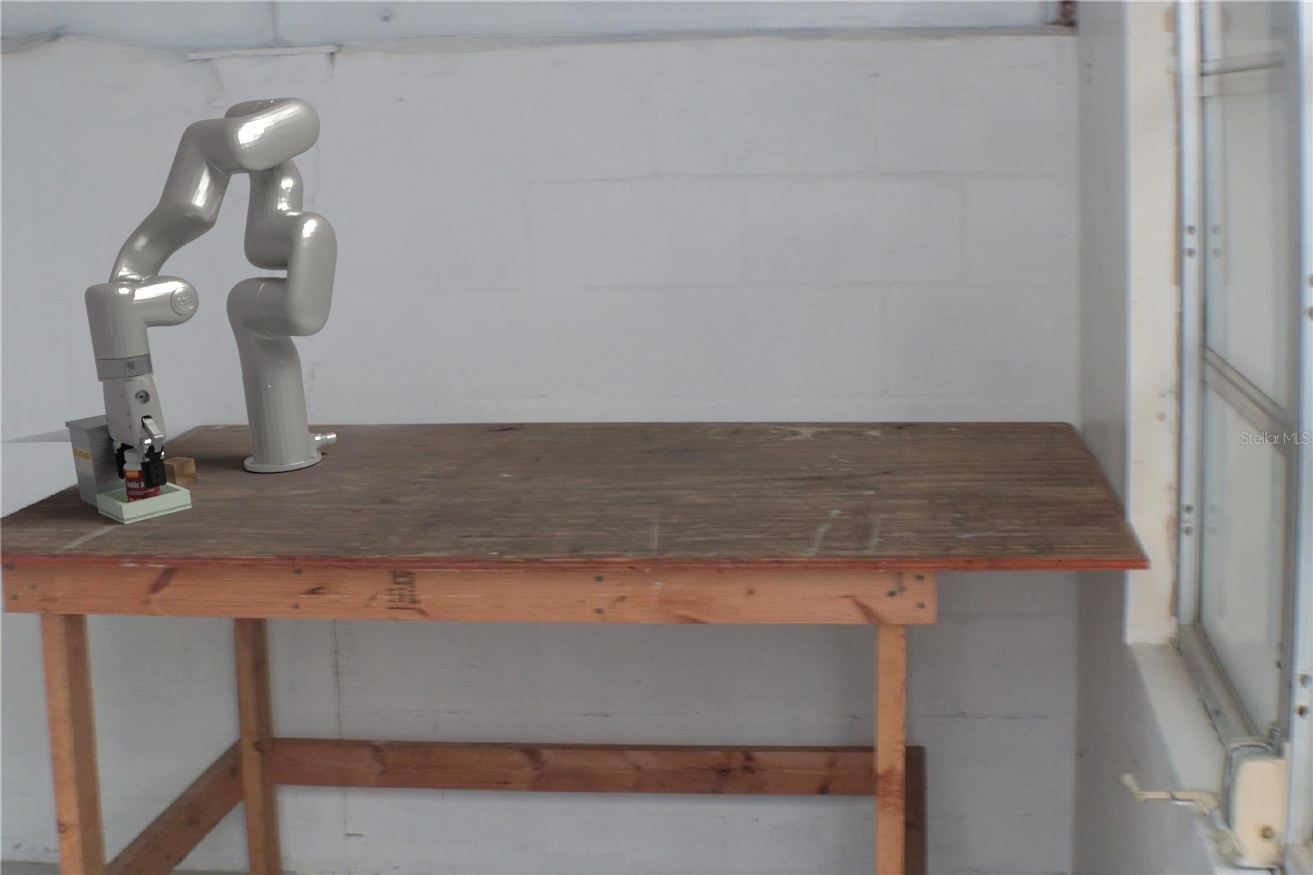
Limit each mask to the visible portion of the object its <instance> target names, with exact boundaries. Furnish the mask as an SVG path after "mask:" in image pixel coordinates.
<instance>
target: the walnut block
mask: <svg viewBox="0 0 1313 875" xmlns="http://www.w3.org/2000/svg"><path fill="white" fill-rule="evenodd" d="M164 466H165V472H166V479H167V482H169V483H172V484H174V485H177V486H180V487H183V488H184V487H185V486H189V485H192V484H195V483H198V479H197V478H198V477H197V471H196V464H195V459H194V458H190V457H184V456H173V457H172V458H168V459H164Z"/></svg>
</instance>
